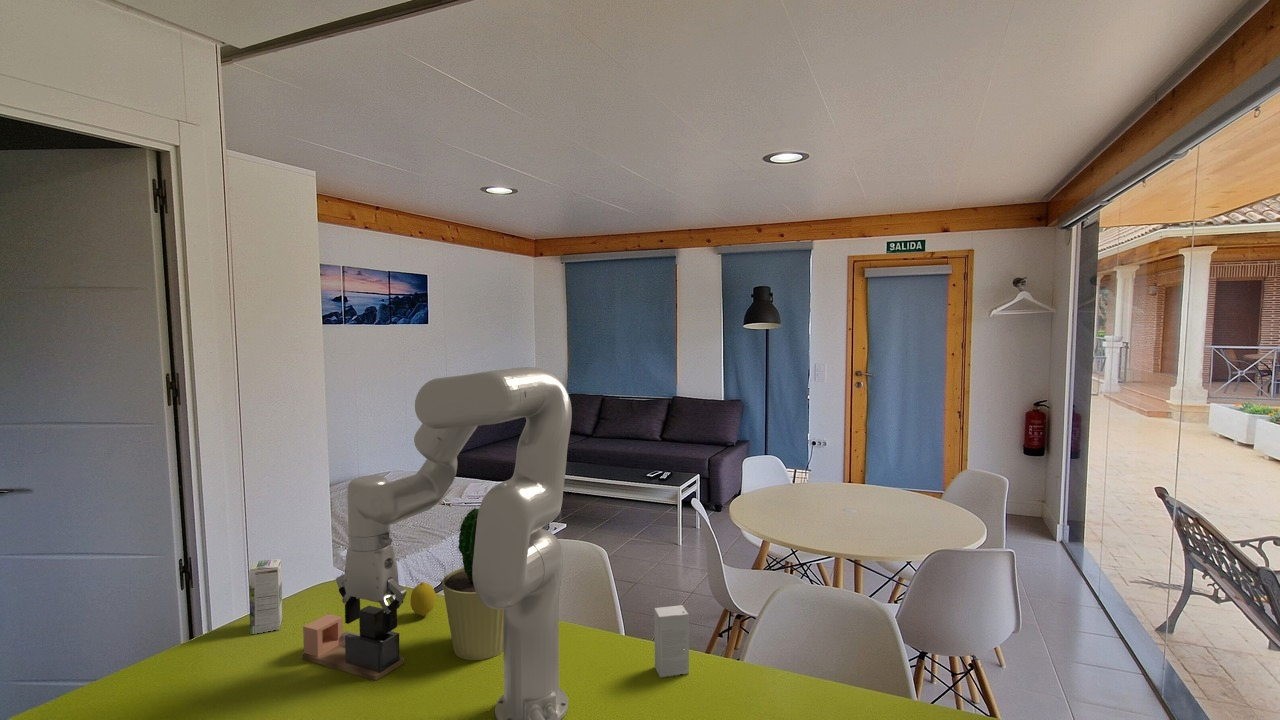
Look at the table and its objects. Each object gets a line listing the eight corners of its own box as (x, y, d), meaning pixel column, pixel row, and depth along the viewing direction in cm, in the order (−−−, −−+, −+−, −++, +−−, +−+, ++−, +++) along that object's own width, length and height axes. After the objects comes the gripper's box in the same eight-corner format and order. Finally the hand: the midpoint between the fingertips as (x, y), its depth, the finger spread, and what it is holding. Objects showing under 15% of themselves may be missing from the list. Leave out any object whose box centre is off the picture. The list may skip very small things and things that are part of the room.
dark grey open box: (399, 660, 124) (399, 633, 124) (380, 673, 119) (379, 644, 119) (365, 650, 127) (365, 624, 127) (345, 663, 123) (344, 635, 123)
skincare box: (683, 663, 125) (683, 604, 124) (689, 674, 121) (689, 614, 120) (653, 666, 123) (653, 607, 123) (658, 678, 119) (658, 617, 119)
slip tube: (392, 654, 123) (391, 609, 123) (380, 661, 120) (379, 616, 120) (350, 643, 128) (349, 600, 127) (338, 650, 125) (337, 606, 124)
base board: (403, 662, 125) (403, 657, 125) (376, 680, 118) (376, 675, 118) (331, 642, 133) (331, 638, 133) (301, 658, 126) (301, 653, 126)
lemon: (428, 622, 142) (427, 588, 141) (405, 620, 143) (405, 586, 142) (440, 611, 147) (439, 578, 147) (419, 609, 148) (418, 576, 148)
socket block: (342, 642, 131) (342, 617, 130) (318, 656, 125) (317, 630, 125) (329, 639, 132) (328, 613, 132) (303, 652, 127) (303, 626, 126)
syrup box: (253, 624, 141) (251, 561, 140) (283, 619, 143) (281, 557, 143) (249, 635, 136) (247, 570, 135) (281, 630, 138) (279, 566, 138)
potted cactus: (475, 674, 120) (473, 521, 119) (427, 650, 130) (425, 507, 128) (534, 642, 133) (532, 503, 131) (487, 622, 142) (485, 491, 140)
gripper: (417, 540, 122) (418, 625, 123) (352, 528, 129) (354, 609, 130) (388, 553, 115) (389, 643, 116) (321, 540, 122) (323, 625, 123)
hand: (371, 625), depth 123 cm, fingers open, 9 cm apart
